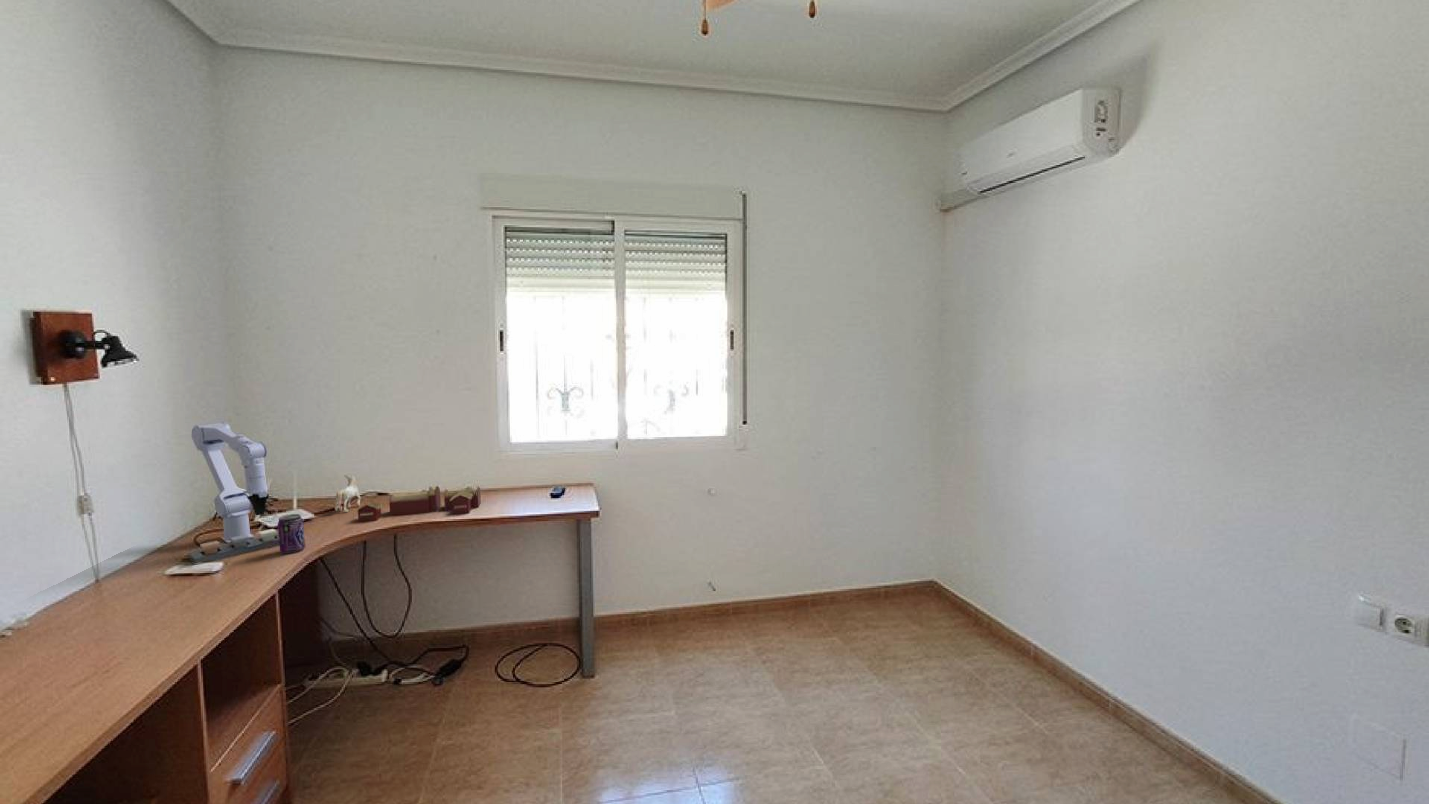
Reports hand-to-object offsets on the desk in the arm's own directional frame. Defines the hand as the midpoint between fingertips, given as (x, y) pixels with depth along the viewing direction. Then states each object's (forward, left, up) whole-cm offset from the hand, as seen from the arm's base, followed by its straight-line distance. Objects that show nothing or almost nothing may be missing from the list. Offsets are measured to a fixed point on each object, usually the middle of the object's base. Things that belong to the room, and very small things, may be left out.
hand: (259, 514), depth 214 cm
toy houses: (+8, +53, -11) cm, 54 cm away
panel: (+4, -7, -10) cm, 13 cm away
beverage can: (+20, +4, -11) cm, 23 cm away
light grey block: (+4, -7, -9) cm, 12 cm away
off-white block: (+4, +1, -9) cm, 10 cm away
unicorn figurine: (-26, +35, -11) cm, 45 cm away
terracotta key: (+4, -15, -9) cm, 18 cm away
